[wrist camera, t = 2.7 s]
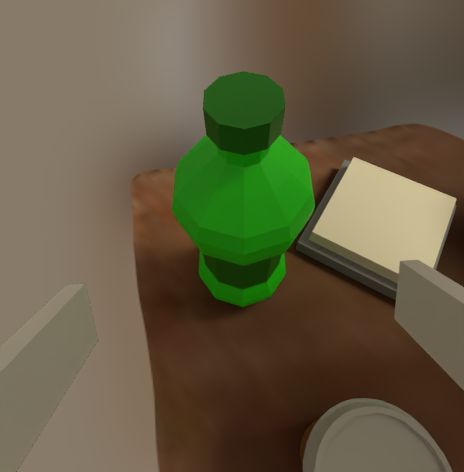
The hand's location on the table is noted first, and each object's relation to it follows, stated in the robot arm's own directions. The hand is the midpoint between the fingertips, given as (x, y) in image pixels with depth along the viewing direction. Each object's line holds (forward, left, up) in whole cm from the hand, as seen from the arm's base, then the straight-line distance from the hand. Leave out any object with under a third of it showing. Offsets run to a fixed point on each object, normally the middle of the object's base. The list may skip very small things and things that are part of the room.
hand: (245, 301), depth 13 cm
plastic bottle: (+5, -9, -23) cm, 25 cm away
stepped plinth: (-7, -22, -23) cm, 33 cm away
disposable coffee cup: (-12, +3, -23) cm, 26 cm away
